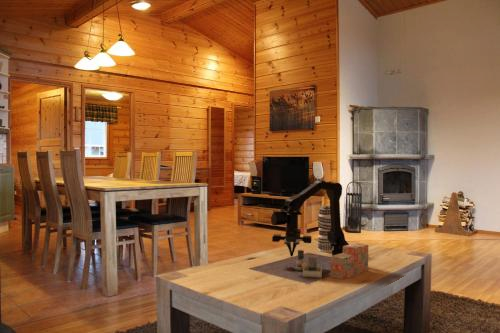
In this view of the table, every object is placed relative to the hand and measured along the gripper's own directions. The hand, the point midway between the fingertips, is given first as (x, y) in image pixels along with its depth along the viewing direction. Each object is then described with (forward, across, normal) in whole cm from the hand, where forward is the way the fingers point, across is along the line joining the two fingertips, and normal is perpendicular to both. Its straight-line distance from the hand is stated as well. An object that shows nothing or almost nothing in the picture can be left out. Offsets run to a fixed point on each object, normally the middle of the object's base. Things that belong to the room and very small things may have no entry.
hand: (291, 256), depth 210 cm
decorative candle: (+4, +16, +37) cm, 41 cm away
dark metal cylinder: (+4, +10, -16) cm, 19 cm away
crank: (+2, +4, -4) cm, 6 cm away
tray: (+4, +10, -16) cm, 20 cm away
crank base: (+4, +4, -8) cm, 10 cm away
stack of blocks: (+5, +27, -10) cm, 29 cm away
